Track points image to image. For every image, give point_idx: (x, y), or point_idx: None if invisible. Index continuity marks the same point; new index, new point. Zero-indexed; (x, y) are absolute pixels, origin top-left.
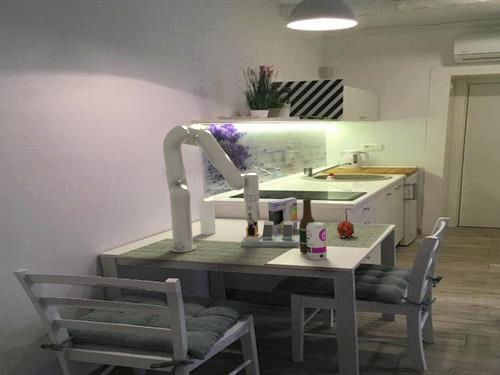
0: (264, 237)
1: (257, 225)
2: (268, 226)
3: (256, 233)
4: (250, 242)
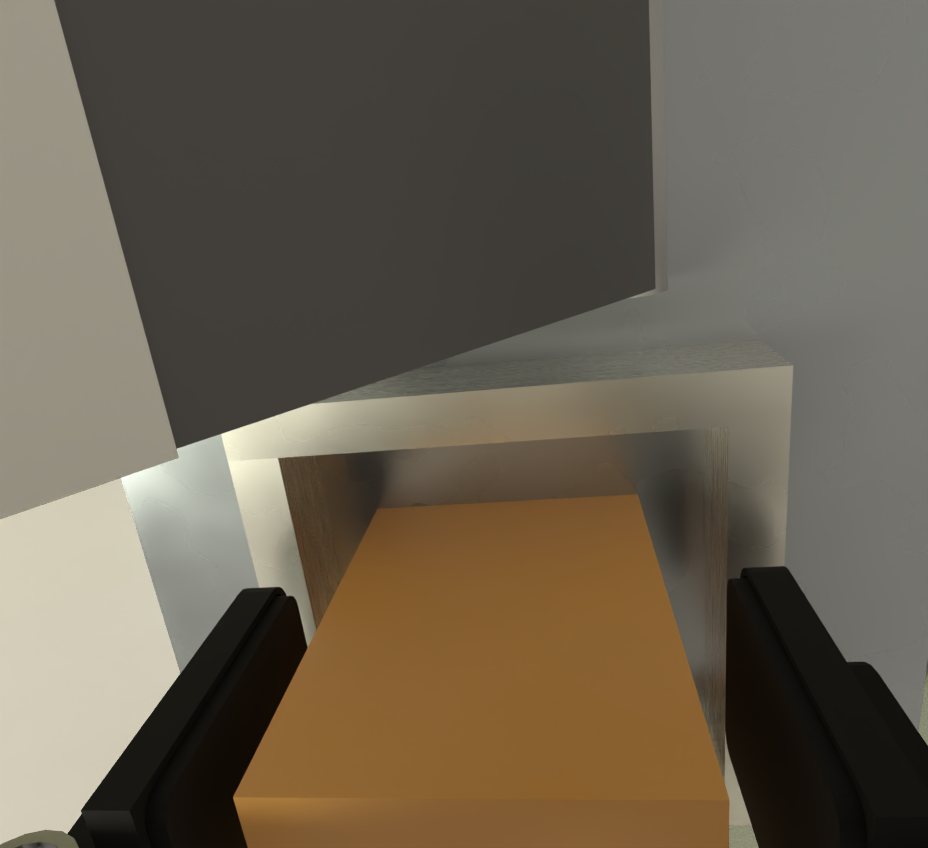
0: (660, 197)
1: (150, 780)
2: (228, 44)
3: (461, 575)
4: (923, 532)
